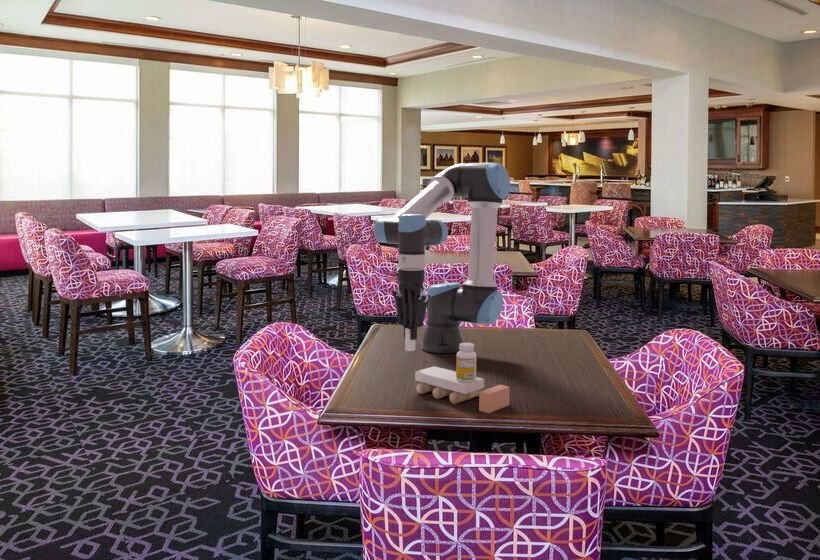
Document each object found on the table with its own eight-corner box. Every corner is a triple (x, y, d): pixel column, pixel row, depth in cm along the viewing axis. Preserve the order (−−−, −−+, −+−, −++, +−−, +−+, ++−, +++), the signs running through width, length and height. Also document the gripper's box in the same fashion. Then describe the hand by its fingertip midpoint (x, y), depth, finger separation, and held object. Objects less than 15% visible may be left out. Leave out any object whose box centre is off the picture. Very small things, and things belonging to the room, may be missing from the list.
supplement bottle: (462, 375, 187) (463, 340, 186) (479, 378, 184) (480, 343, 183) (452, 380, 183) (452, 344, 181) (469, 383, 180) (470, 347, 178)
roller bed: (416, 392, 190) (416, 382, 189) (440, 385, 197) (440, 375, 196) (458, 405, 179) (458, 394, 179) (481, 396, 187) (481, 386, 186)
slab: (415, 380, 191) (415, 371, 191) (434, 374, 197) (434, 366, 196) (465, 394, 179) (465, 384, 178) (483, 387, 184) (484, 378, 184)
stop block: (479, 410, 175) (479, 391, 175) (499, 402, 182) (500, 384, 181) (488, 413, 173) (488, 394, 172) (509, 405, 180) (509, 386, 179)
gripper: (385, 267, 195) (385, 348, 198) (419, 271, 186) (417, 356, 189) (404, 265, 200) (403, 344, 203) (437, 269, 191) (435, 352, 195)
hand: (410, 350), depth 196 cm, fingers closed
